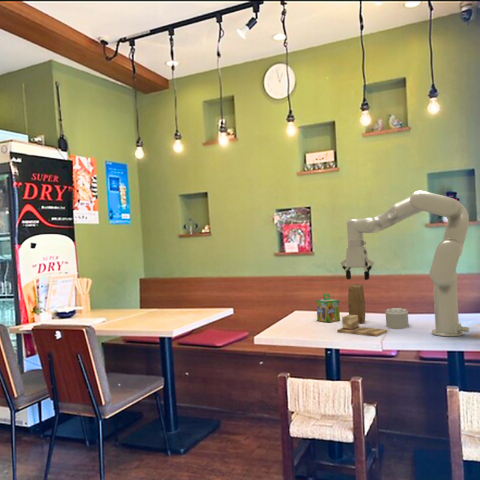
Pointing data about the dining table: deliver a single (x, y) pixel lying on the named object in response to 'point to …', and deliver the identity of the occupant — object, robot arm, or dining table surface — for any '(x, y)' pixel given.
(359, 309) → the block
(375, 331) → the board
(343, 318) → the block
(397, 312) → the lumpy-topped squat cylinder
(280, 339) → the dining table surface
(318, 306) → the chalk box
